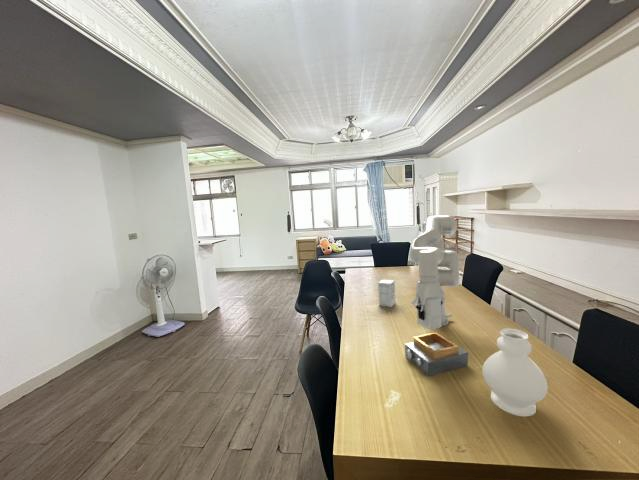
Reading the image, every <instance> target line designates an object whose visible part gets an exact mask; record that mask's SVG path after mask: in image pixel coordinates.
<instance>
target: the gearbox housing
mask: <svg viewBox="0 0 639 480" xmlns="http://www.w3.org/2000/svg"><path fill="white" fill-rule="evenodd" d="M404 352H405V353H404V356H405V358H407V360H409V361H411V363H413V364H414V366H416V367H417V369H420V370H421V371H422V373H424V374H425V375H426V376H427V377H429V376H434V375H438V374H442V373H445V372H448V371H452V370H456V369H459V368H460V369H461V368H463V367H467V366H469V352H468V351H467V350H465V349H463V348H462V347H460V346H459V345H457V344H456V343H454V342H452V341H451V340H449V339H447V338H446V337H445V336H442V335H441V334H439V333H437V332H436V331H434V332H430V333H425V334H420V335H417V336H413V341H411V342H406V343H404Z"/></svg>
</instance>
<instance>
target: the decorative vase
mask: <svg viewBox="0 0 639 480" xmlns="http://www.w3.org/2000/svg"><path fill="white" fill-rule="evenodd" d="M499 333H500V336H499V337H498V338H497V340H496V344H497V346H498V348H499V349H500V350H498V351H496V352H494V353H492V354H491V355H490V356H489V357H488V358H487V359H486V360H485V362H484V363H483V365H482V371H481V372H482V378H483V381H484V382H485V384H486V385H487V387H489V389H490V390H491V392H490V399H491V401H492V402H493V404H494V405H495V406H497V408H499V409H500V410H502V411H504V412H505V413H508V414H510V415H513V416H518V417H531V416H534V415H535V414H536V412H537V405H536V403H538V402H540V401H542V400H544V398H545V397H546V396H547V393H548V381H547V378H546V377H545V375H544V373H543V371H542V370H541V368H539V366H538V365H537V364H536V363H535V361H533V360H532V359H531V358H530V357H529V356H528V355H529V354H531V353H532V351H533V347H532V345H531V343H530V342H529V341H528V340H529V335H528V333H526V332H524V331H523V330H519V329H516V328H503V329H501V330H500V332H499Z"/></svg>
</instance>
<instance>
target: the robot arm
mask: <svg viewBox="0 0 639 480" xmlns="http://www.w3.org/2000/svg"><path fill="white" fill-rule="evenodd" d="M421 225H422V226H421V227H422V231H423V233H421V234H419V235H418V236H417V237H416V238H414V239H413V241H412V243H411V246H410V251H409V259H410V262H412V263H414V264H418V281H417V283H416V287H415V299H414V300H413V301H412V302H411V304H412V305H413V306H414V308H416V309H418V316H419V318H420V319H422V320H424V311H423V309H424V307H425V305H426V300H429V299H435V298H441V327H446V326H447V325H449V320H448V318H452V317H453V314H452V313H447V312H446V293H445V290H444V289H443V288H442V287H447V288H448V287H449V288H451V287H452V288H455V287H458V286H459V284H460V258H459V254H458V252H457V251H455V250H445V241H444V240H443V238H442V236H452V235H454V234H455V233H456V232H457V221H456V218H455V217H454V216H452V215H448V214H447V215H431V216H428V217H427V218H426V219H425V221H423V222H422V224H421ZM438 268H439V269H438ZM442 268H449V269H442ZM419 300H420V301H419ZM417 303H419V304H418V305H417ZM421 305H422V306H421ZM420 307H421V308H420Z"/></svg>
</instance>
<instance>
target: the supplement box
mask: <svg viewBox="0 0 639 480" xmlns="http://www.w3.org/2000/svg"><path fill="white" fill-rule="evenodd" d="M395 284H396V283H395V280H391V279H381V280H380V281H378V282H377V288H378V289H377V290H378V291H377V292H378V306H379V305H381V307H386V306H387V307H388V308H392V307H394V305H396V303H397V301H396V285H395Z"/></svg>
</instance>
